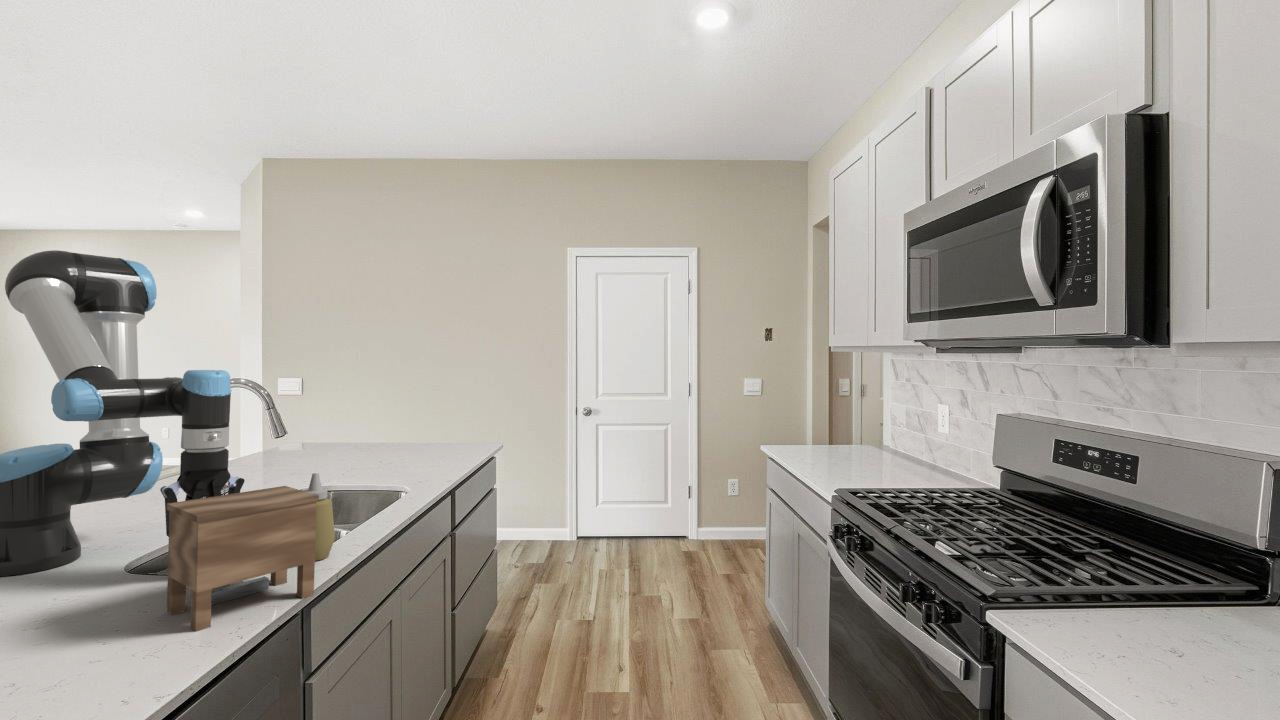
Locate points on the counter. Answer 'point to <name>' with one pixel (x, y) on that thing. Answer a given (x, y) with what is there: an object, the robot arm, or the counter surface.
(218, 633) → the counter surface
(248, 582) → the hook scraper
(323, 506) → the squeeze bottle
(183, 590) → the walnut cabinet
